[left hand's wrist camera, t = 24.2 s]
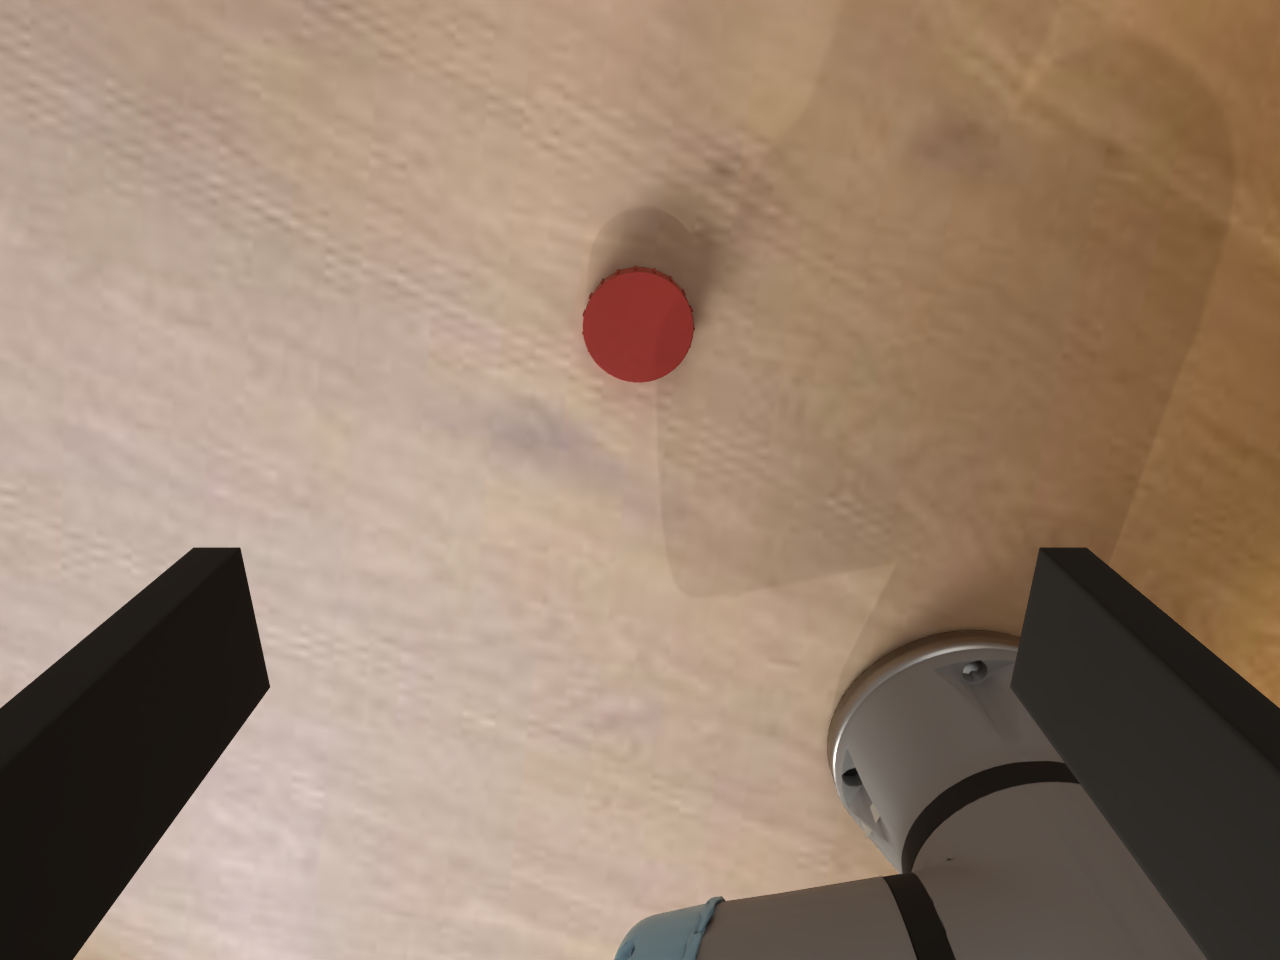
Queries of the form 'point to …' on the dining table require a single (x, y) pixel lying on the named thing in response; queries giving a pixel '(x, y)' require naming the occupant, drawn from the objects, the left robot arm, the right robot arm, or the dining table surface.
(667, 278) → the lid
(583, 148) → the dining table surface
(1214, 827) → the left robot arm
